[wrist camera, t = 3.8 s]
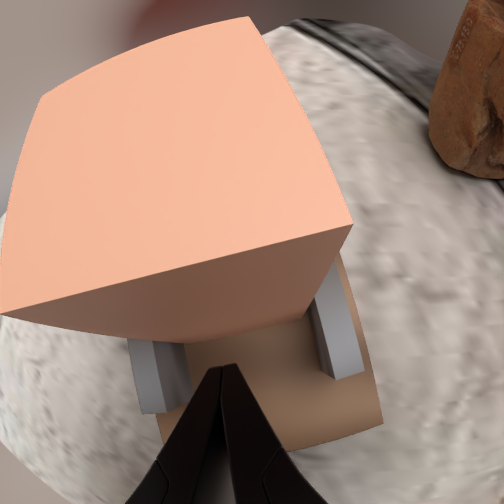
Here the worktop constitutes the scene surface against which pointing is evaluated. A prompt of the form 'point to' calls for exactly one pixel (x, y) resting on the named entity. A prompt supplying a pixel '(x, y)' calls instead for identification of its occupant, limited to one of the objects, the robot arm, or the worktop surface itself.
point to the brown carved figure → (472, 94)
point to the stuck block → (172, 196)
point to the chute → (276, 371)
